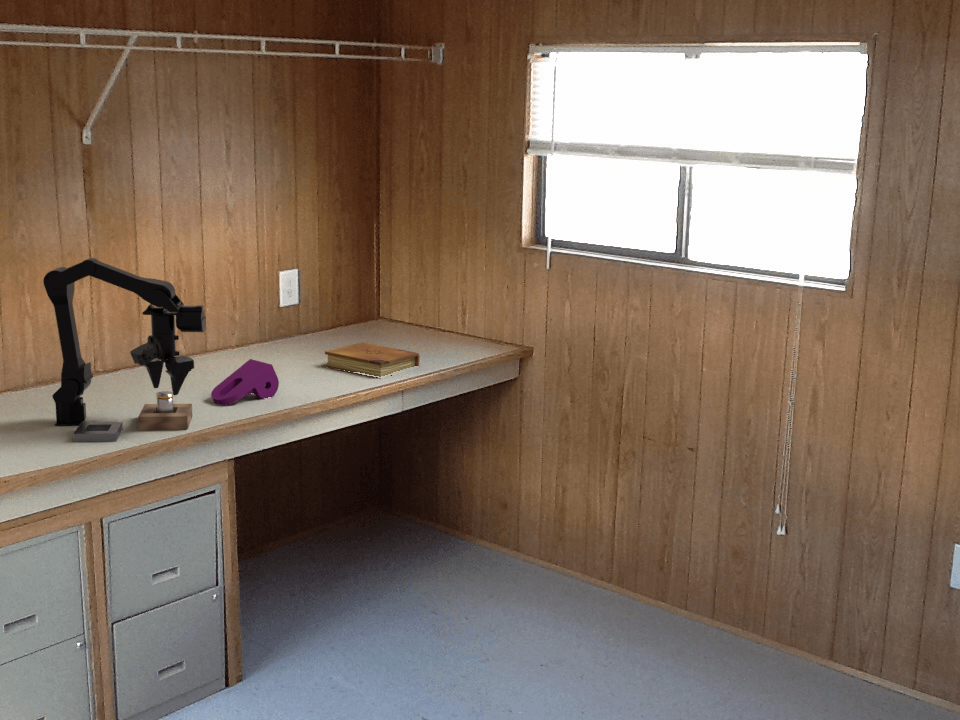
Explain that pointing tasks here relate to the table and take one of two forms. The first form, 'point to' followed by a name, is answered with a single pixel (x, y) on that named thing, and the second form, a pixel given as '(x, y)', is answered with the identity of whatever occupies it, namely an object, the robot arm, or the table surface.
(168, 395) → the steel pin
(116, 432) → the pin mount
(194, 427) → the table surface
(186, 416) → the socket block
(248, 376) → the mounting bracket
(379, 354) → the diary
